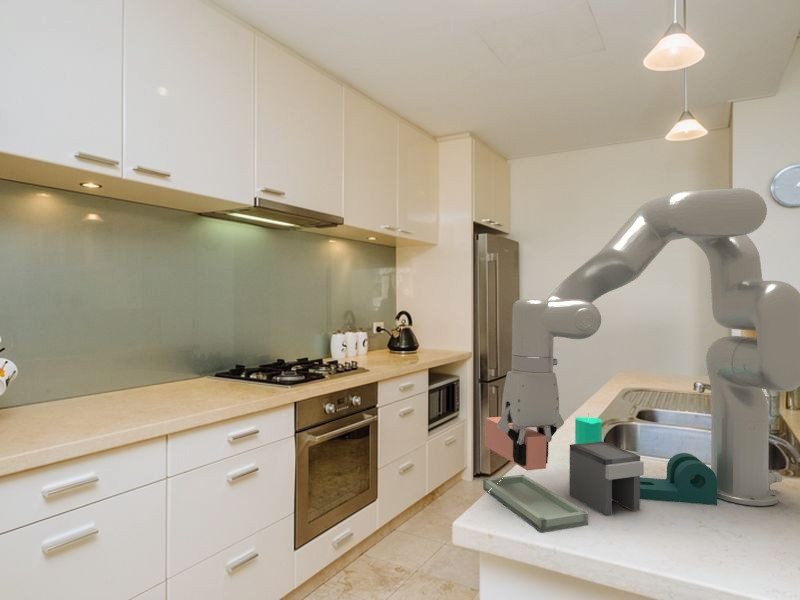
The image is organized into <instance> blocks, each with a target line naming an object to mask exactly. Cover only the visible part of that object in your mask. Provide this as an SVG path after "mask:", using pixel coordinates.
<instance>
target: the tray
mask: <svg viewBox="0 0 800 600" xmlns="http://www.w3.org/2000/svg"><path fill="white" fill-rule="evenodd" d="M502 478H503V479H502ZM482 480H483V481H482V484H483V485H482V489H483V490H484V491H485V492H486V493H487V494H489V495H491V496H492V497H493V498H494V499H496V500H497V501H499V502H500V503H501V504H502V505H504V506H505V507H506V508H508V509H509V510H510V511H512V512H513V513H514V514H516V515H518V517H520V518H521V519H523V520H524V521H525V522H526V523H528V524H529V525H530V526H532V527H533V528H534V529H536V530H537V531H538V532H539V533H542V534H543V533H547V532H552V531H558V530H565V529H570V528H577V527H582V526H588V525H589V512H588V511H585V510H584V509H582V508H580V507H578V506H577V505H575V504H574V503H572V502H570V501H569V500H567V499H565V498H564V497H562V496H560V495H558V494H557V493H556V492H554V491H552V490H550V489H549V488H546V487H545V486H543V485H542V484H540V483H539V482H536V481H535V480H534V479H531V478H530V477H529V476H527V475H524V474H518V475H517V474H516V475H508V476H500V477H493V478H483V479H482ZM500 480H501V481H500ZM499 481H500V482H499ZM497 483H498V484H497ZM491 488H492V489H491ZM490 489H491V490H490ZM489 490H490V491H489ZM488 491H489V492H490V493H489V492H488Z"/></svg>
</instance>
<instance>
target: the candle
mask: <svg viewBox="0 0 800 600" xmlns="http://www.w3.org/2000/svg"><path fill="white" fill-rule="evenodd" d="M574 421H575V423H574V425H575V428H574V429H575V430H574V432H575V433H574V434H575V435H574V436H575V437H574V438H575V440H574V442H575V443H574V444H581V443H591V442H601V441H602V438H603V437H602V436H603V435H602V434H603V433H602V432H603V431H602V427H603V426H602V425H603V423H602V422H603V421H602V419H601V418H598V417H597V418H596V417H590V414H589V412H588V413H587V417H583V416H582V417H581V416H575V420H574ZM602 442H603V441H602Z"/></svg>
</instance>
